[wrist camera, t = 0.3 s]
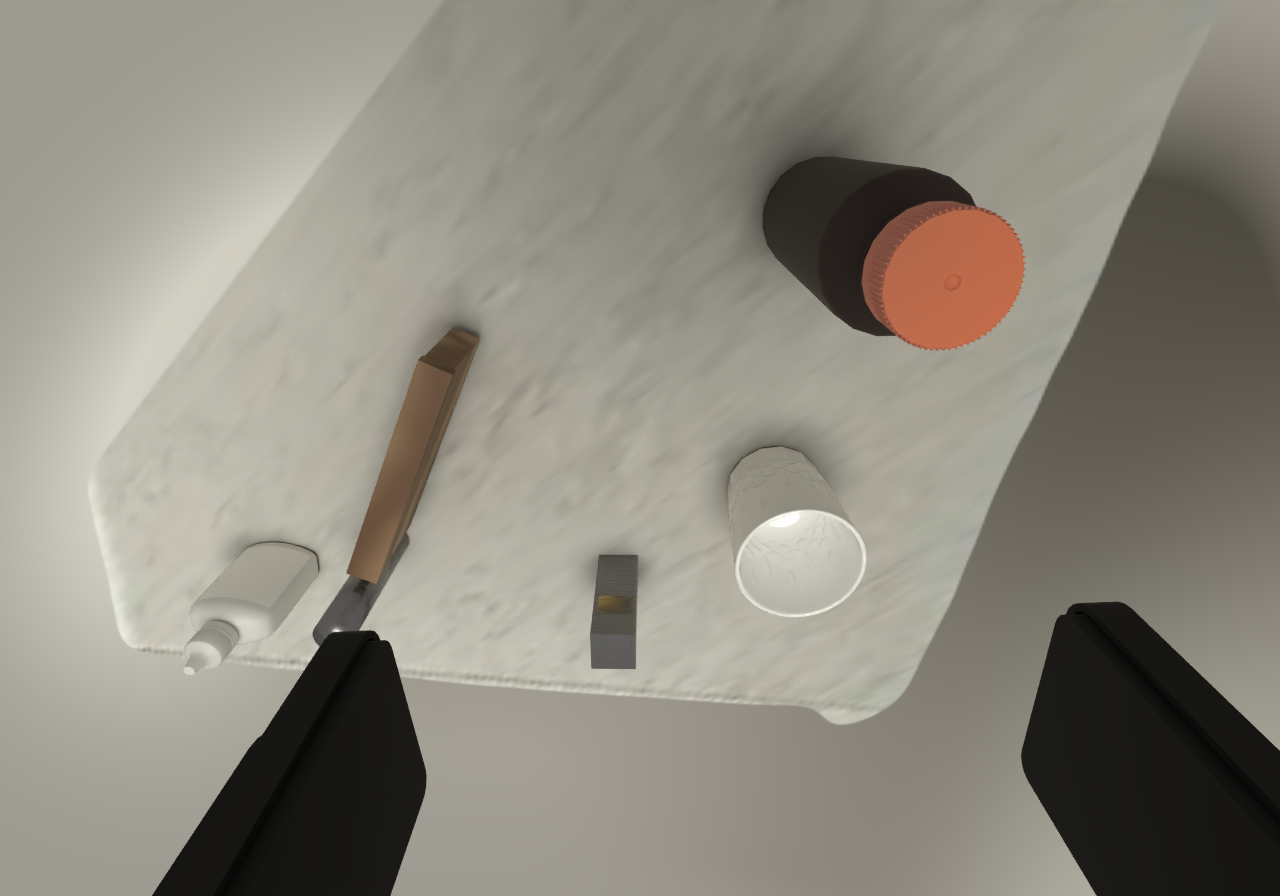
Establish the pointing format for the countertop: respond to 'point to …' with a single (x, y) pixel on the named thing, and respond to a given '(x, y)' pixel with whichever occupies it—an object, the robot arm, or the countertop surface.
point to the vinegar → (895, 249)
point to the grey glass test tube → (356, 600)
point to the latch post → (615, 613)
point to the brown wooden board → (412, 451)
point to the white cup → (791, 535)
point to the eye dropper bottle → (248, 601)
